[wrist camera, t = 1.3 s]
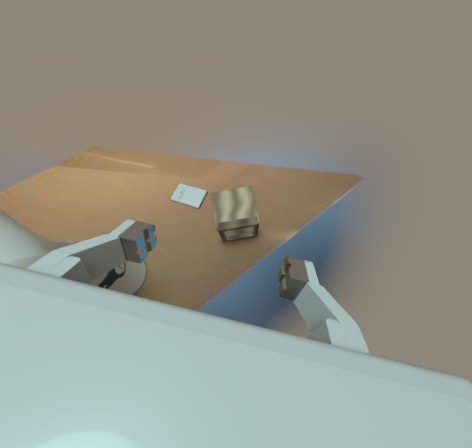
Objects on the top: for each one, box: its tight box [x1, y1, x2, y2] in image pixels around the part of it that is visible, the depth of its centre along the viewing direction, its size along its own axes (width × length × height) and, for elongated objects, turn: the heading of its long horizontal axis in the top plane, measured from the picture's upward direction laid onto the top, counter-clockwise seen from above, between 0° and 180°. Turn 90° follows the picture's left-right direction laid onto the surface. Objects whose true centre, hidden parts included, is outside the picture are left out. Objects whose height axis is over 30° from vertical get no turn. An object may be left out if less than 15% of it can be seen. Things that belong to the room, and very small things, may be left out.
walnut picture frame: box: [217, 216, 259, 242], centre depth 55 cm, size 12×3×11 cm, turn 99°
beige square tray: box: [212, 186, 260, 230], centre depth 64 cm, size 16×16×1 cm
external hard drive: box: [171, 183, 208, 209], centre depth 68 cm, size 2×8×12 cm
